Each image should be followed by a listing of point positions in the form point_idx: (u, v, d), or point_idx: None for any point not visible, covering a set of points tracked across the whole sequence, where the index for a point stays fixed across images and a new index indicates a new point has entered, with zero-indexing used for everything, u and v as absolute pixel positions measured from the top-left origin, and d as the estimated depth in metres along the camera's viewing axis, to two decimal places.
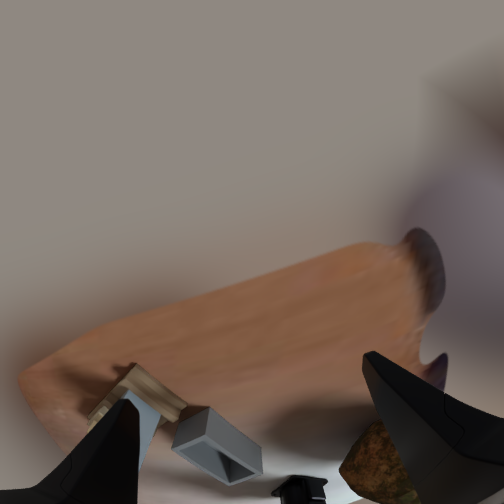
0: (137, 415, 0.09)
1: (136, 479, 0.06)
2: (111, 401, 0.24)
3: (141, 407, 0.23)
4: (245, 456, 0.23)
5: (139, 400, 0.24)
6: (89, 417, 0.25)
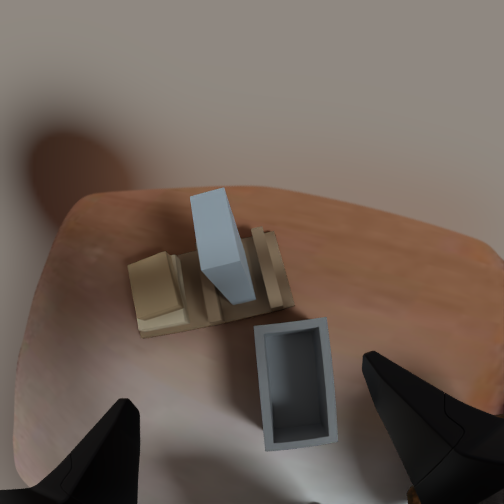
0: (137, 415, 0.09)
1: (136, 479, 0.06)
2: None
3: (248, 268, 0.22)
4: None
5: (247, 265, 0.23)
6: None
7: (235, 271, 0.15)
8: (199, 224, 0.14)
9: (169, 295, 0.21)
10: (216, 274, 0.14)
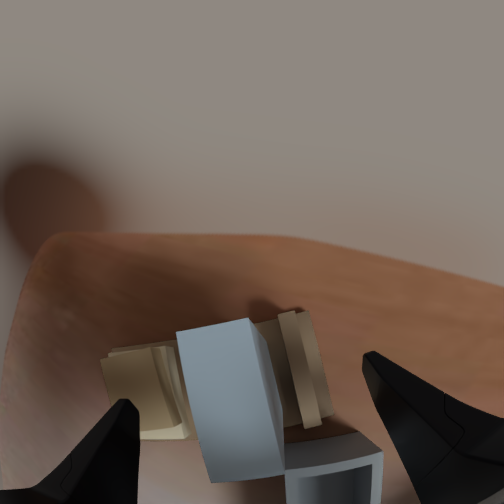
0: (137, 415, 0.09)
1: (136, 479, 0.06)
2: None
3: (273, 375, 0.14)
4: None
5: (271, 366, 0.15)
6: (116, 351, 0.17)
7: None
8: (200, 400, 0.06)
9: (160, 412, 0.12)
10: None
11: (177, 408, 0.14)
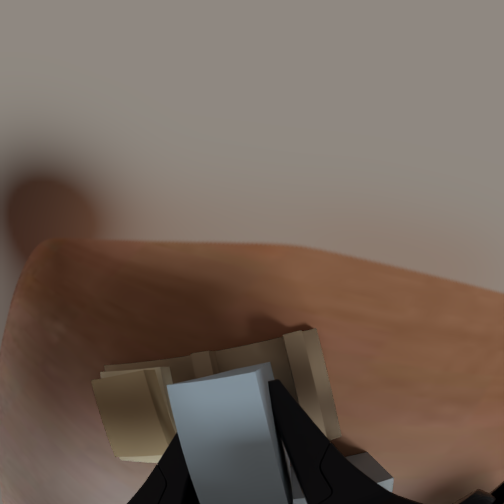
0: None
1: None
2: (212, 363, 0.14)
3: None
4: None
5: None
6: (109, 369, 0.15)
7: None
8: (198, 461, 0.04)
9: (156, 438, 0.11)
10: None
11: (174, 432, 0.12)
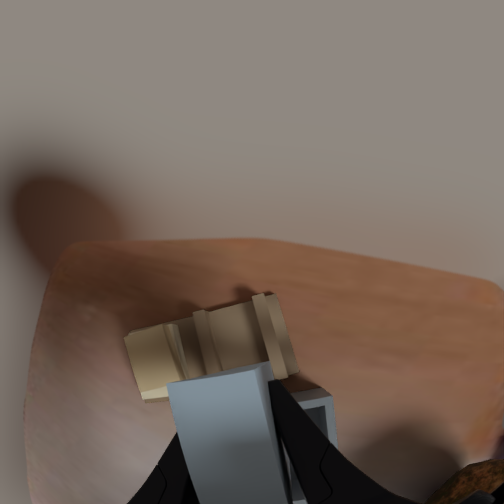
0: None
1: None
2: (206, 318, 0.22)
3: None
4: None
5: None
6: None
7: None
8: (197, 460, 0.05)
9: (170, 371, 0.19)
10: None
11: (182, 369, 0.20)
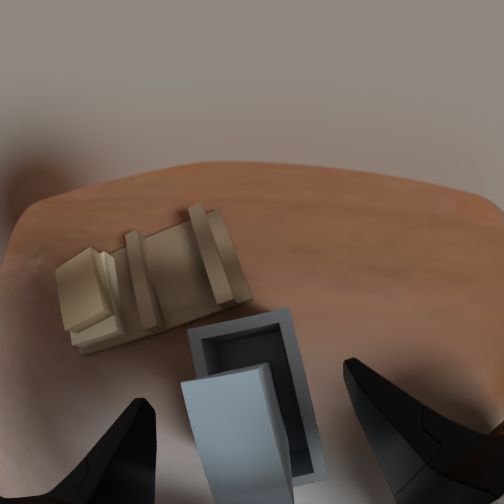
0: (153, 415, 0.08)
1: (153, 480, 0.06)
2: (140, 240, 0.18)
3: (278, 397, 0.13)
4: None
5: (276, 386, 0.14)
6: None
7: None
8: (208, 449, 0.05)
9: (94, 298, 0.15)
10: None
11: (111, 302, 0.16)
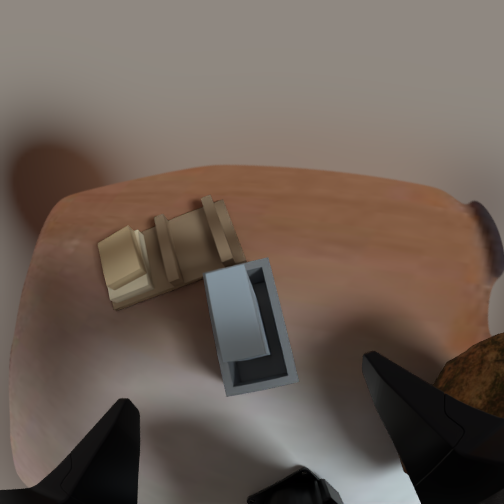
0: (137, 415, 0.09)
1: (136, 479, 0.06)
2: (165, 221, 0.26)
3: (263, 325, 0.21)
4: None
5: (262, 319, 0.21)
6: None
7: None
8: (218, 309, 0.13)
9: (132, 261, 0.22)
10: None
11: (144, 264, 0.24)
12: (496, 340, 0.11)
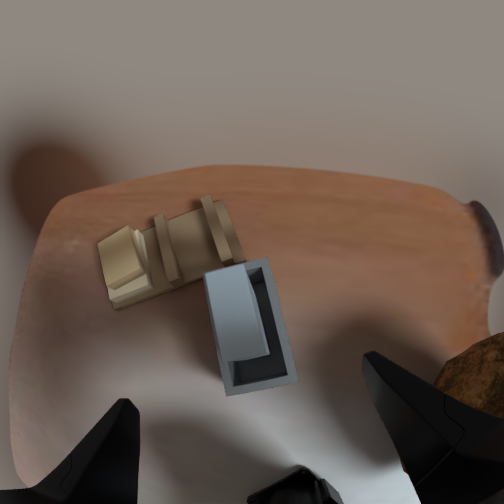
0: (137, 415, 0.09)
1: (136, 479, 0.06)
2: (165, 221, 0.26)
3: (263, 325, 0.21)
4: None
5: None
6: None
7: (257, 355, 0.13)
8: (218, 309, 0.13)
9: (132, 261, 0.22)
10: (237, 359, 0.13)
11: (144, 264, 0.24)
12: (496, 340, 0.11)
